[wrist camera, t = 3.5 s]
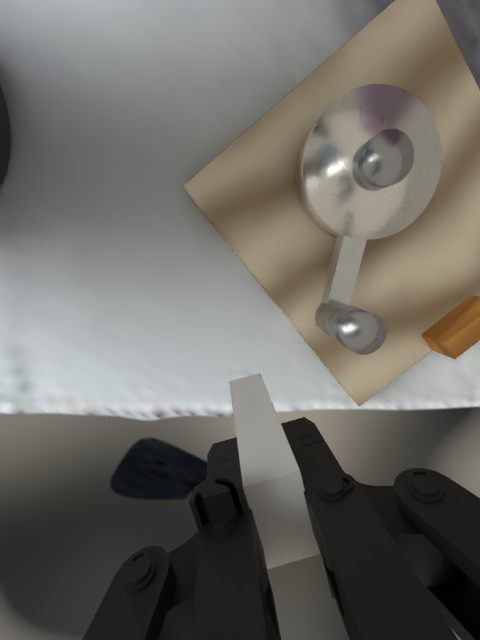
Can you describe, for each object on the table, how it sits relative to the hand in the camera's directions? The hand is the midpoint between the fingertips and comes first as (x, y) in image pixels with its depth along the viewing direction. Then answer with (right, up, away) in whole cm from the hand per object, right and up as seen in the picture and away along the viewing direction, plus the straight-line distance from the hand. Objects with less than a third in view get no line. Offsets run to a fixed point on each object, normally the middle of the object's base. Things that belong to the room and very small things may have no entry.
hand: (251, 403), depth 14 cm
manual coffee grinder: (+7, +11, +7) cm, 15 cm away
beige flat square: (+10, +11, +9) cm, 18 cm away
